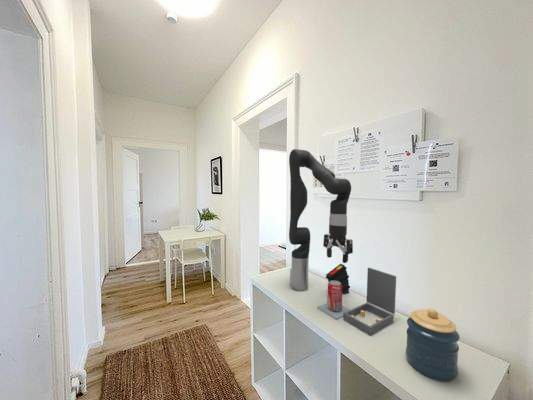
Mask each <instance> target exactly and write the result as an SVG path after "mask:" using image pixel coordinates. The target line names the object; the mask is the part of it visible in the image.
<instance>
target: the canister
mask: <svg viewBox="0 0 533 400" xmlns="http://www.w3.org/2000/svg"><path fill="white" fill-rule="evenodd" d="M406 323H407V326H408V327H407V328H406V346H405V354H406V355H405V356H406V359H407V361H408V363H409V364H410V365H411V366H412V368H414V369H415V370H416V371H418V372H419V373H420V374H422V375H423V376H426V377H428V378H430V379H433V380H436V381H442V382H451V381H454V380H456V378H457V375H458V373H459V367H458V357H459V352H460V351H459V350H460V347H459V344H458V341H460V334H459V333H458V331H457V326H456V323H454V322H453V321H452V320H450V318H448V317H447V316H446V315H444V314H442V313H439V312H437V310H436V309H434V308H429V309H417V310H413V311H412V312H411V313H410V316H409V317H408V318H407V319H406Z"/></svg>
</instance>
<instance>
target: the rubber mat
mask: <svg viewBox="0 0 533 400" xmlns="http://www.w3.org/2000/svg"><path fill="white" fill-rule="evenodd" d="M316 308H317V309H318V310H320V311H321V312H323V313H325V315H328V316H330V317H331V318H333V319H334V320H336V321H337V320H339V319H342V318H343V313H344V312H346V311H349V310H351V309H350V308H348V307H346V306H344V305H343V304H342V309H341V310H340V311H332V310H330V309H329V308H328V307H327V302H326V303H324V304H321V305H318V306H316Z"/></svg>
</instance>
